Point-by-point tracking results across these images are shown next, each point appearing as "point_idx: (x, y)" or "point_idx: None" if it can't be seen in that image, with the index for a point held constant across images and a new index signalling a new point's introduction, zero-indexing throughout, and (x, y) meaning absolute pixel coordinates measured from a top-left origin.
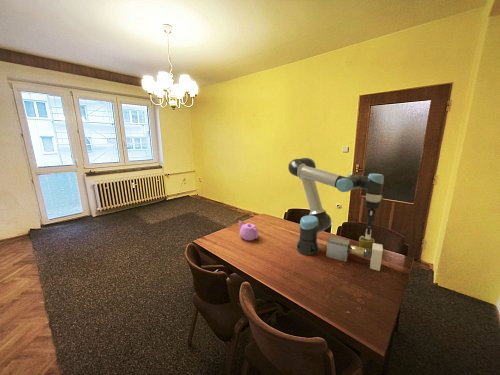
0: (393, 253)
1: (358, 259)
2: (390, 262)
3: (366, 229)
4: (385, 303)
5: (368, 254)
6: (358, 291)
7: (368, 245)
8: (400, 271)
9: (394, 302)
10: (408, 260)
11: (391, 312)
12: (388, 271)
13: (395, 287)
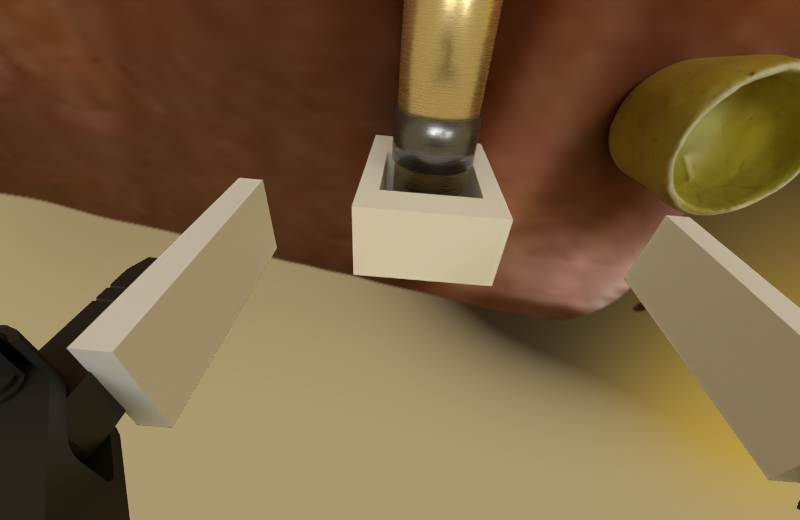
0: (619, 274)
1: None
2: None
3: (108, 320)
4: (100, 187)
5: (392, 150)
6: (57, 54)
7: (642, 152)
8: None
9: (144, 221)
10: (548, 317)
11: (65, 203)
12: None
13: None
